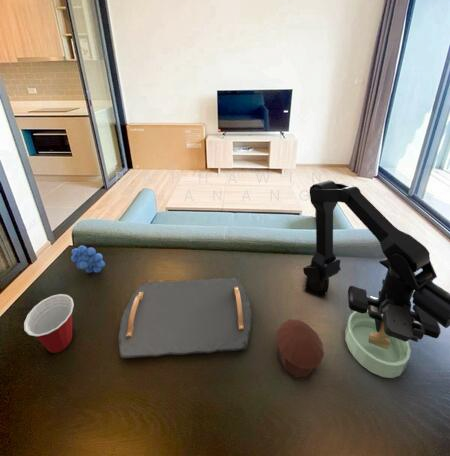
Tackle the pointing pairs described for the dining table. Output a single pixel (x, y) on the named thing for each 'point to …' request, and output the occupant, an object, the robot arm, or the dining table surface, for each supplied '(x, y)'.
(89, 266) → the grapes
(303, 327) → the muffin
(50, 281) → the dining table surface
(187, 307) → the serving tray
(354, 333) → the bowl
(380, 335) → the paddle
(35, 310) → the plastic cup
